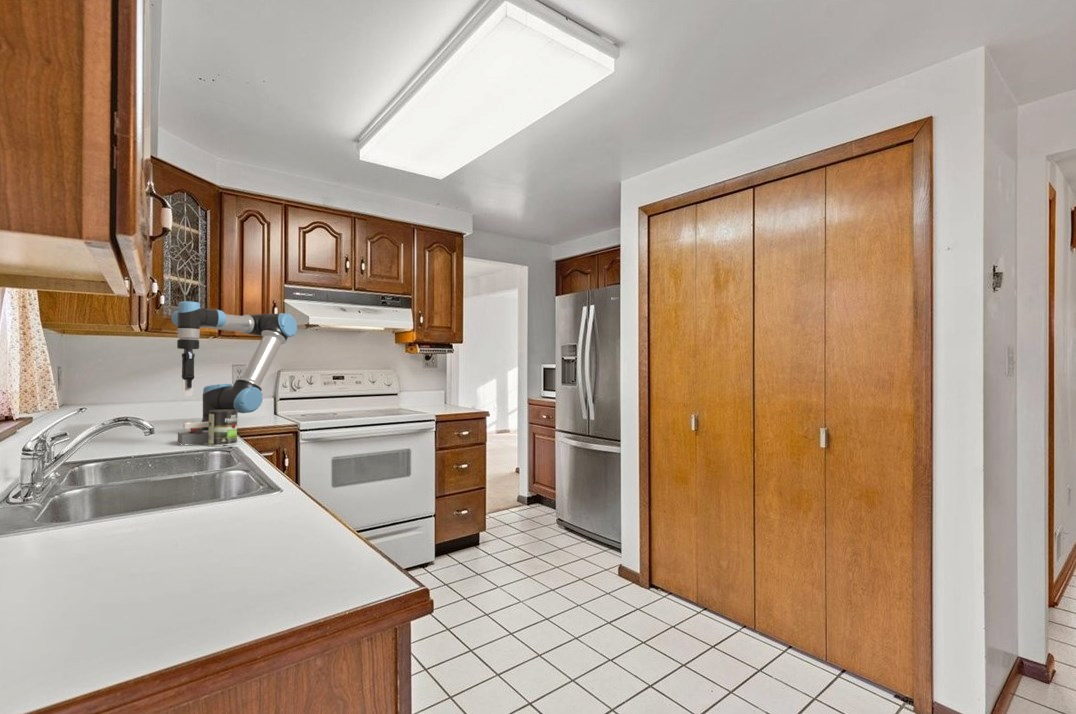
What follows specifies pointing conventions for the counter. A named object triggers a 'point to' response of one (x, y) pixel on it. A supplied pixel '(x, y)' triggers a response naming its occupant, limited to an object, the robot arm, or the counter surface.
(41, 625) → the counter surface
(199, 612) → the counter surface
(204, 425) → the bar
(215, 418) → the coffee can
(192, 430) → the button
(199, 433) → the box
